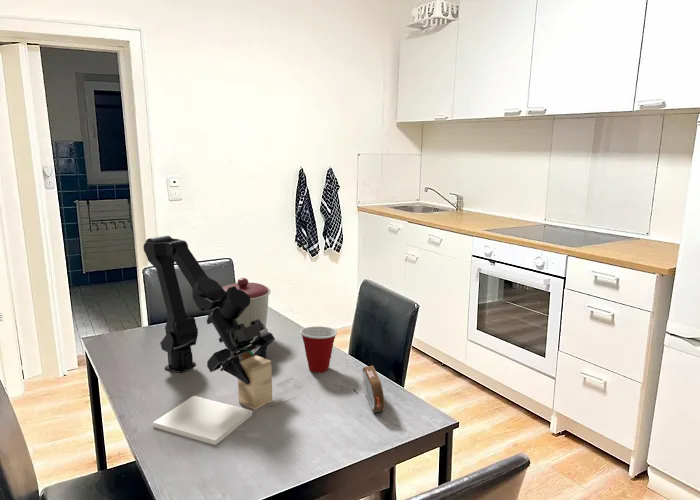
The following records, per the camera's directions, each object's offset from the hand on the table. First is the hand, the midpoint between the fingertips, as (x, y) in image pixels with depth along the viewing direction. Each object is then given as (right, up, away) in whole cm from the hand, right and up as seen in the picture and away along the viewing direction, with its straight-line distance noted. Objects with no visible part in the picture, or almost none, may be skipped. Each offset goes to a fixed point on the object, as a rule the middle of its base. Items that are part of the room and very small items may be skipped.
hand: (258, 379), depth 129 cm
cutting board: (-12, -8, -7) cm, 16 cm away
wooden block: (-1, -6, +2) cm, 7 cm away
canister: (-13, +3, +45) cm, 46 cm away
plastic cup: (+14, -2, +21) cm, 26 cm away
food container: (-5, -1, +27) cm, 28 cm away
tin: (+29, -7, +2) cm, 30 cm away
